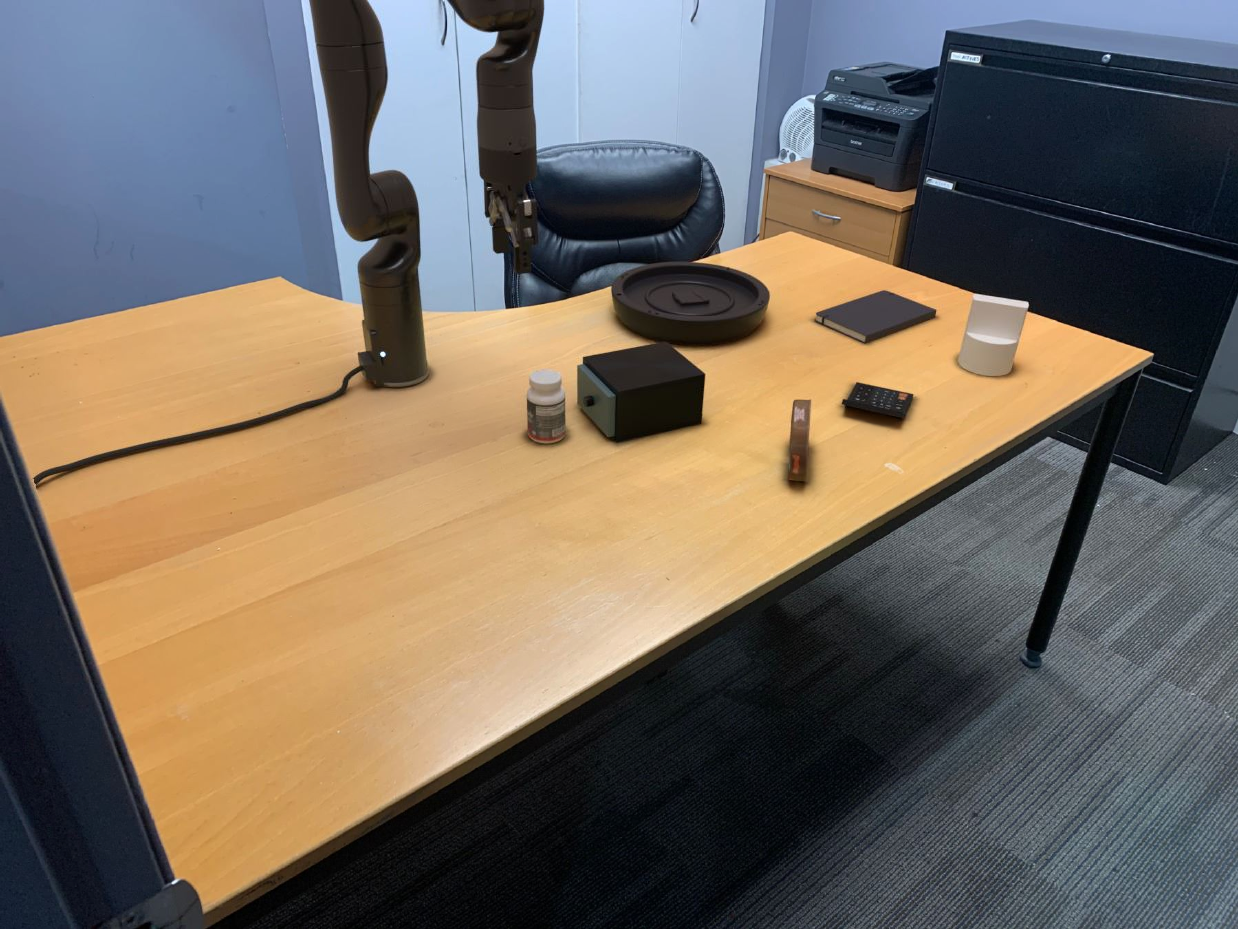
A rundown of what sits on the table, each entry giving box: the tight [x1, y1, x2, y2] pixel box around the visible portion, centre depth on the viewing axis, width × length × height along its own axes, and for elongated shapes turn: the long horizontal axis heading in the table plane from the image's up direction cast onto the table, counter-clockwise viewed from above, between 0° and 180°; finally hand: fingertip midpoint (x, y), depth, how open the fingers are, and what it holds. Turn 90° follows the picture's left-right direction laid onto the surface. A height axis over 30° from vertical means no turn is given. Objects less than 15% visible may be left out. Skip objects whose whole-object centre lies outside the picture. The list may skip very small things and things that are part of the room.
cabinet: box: [582, 341, 706, 444], centre depth 144 cm, size 15×13×9 cm
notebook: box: [814, 289, 938, 344], centre depth 180 cm, size 13×2×21 cm
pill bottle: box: [526, 368, 567, 444], centre depth 137 cm, size 6×6×10 cm
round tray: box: [610, 261, 771, 346], centre depth 178 cm, size 30×6×30 cm
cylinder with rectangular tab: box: [957, 293, 1030, 377], centre depth 161 cm, size 9×9×12 cm
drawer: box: [576, 363, 616, 438], centre depth 143 cm, size 15×11×7 cm
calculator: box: [841, 381, 914, 419], centre depth 149 cm, size 9×12×3 cm
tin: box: [787, 398, 812, 483], centre depth 132 cm, size 15×3×8 cm, turn 168°
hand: (511, 262), depth 128 cm, fingers open, 8 cm apart
